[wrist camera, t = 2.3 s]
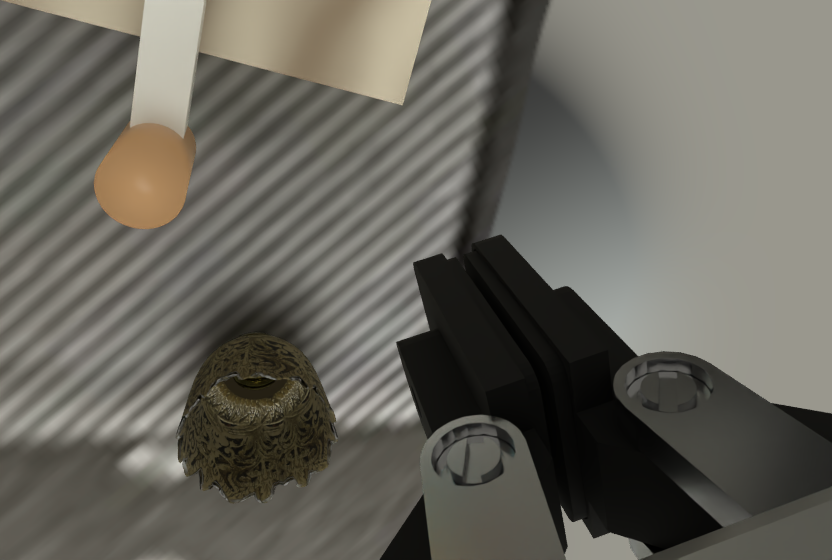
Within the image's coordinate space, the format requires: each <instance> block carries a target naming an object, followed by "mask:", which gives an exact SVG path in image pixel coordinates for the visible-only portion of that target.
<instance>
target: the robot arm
mask: <svg viewBox="0 0 832 560" xmlns="http://www.w3.org/2000/svg"><path fill="white" fill-rule="evenodd" d="M463 258H464V265H465V269H466V271H465V269H464V268H463V267H462V265H461V264H460V262H459V261H458V259H457V258H456V257H455V258H451V259H448V260H447V259H446V258H445V256H444V255H443V254H438V255H435V256H432V257H429V258H426V259H423V260H420V261H416V262H413V266H414V271H415V275H416V279H417V283H418V286H419V290H420V294H421V298H422V301H423V305H424V309H425V313H426V317H427V320H428V324H429V328H430V331H428V332H425V333H422V334H419V335H416V336H413V337H410V338H407V339H404V340H401V341H398V342H396V343H397V347H398V351H399V355H400V358H401V361H402V365H403V368H404V371H405V375H406V378H407V381H408V384H409V388H410V391H411V394H412V397H413V400H414V403H415V406H416V409H417V412H418V415H419V417H420V420H421V423H422V426H423V428H424V431H425V434H426V436H427V439H428V440H427V441H426V443H425V445H424V447H423V449H422V451H421V458H420V470H421V478H422V486H423V495H422V497H421V498H420V500H419V501H418V503H417V504H416V506H415V507H414V509H413V510H412V512H411V513H410V515H409V516H408V518H407V519H406V521H405V522H404V524H403V525H402V527H401V528H400V530H399V531H398V533H397V534H396V536H395V537H394V539H393V540H392V542H391V543H390V545H389V546H388V548H387V549H386V551H385V552H384V554H383V555H382V557H381V558H380V560H566V558H565V555H564V554H565V552H566V549H567V547H568V546H567V540H566V534H565V528H564V523H563V517H562V511H561V506H562V508H563V509H564V511H565V513H566V514H567V516H568V518H569V519H570V520H571V521H572V522H575V521H577V520H580V519H582V520H583V522H584V523H585V525H586V527H587V528H588V530H589V532H590V533H591V535H592V537H593V538H597V537H599V536H602V535H605V534H607V533H610V532H611V533H614V534H617V535H621V536H624V537H627V538H628V539H629V544H630V548H631V549H632V551H633V553H634V554H635V556H636V557H637V559H638V560H832V414H831V413H825V412H819V411H814V410H808V409H802V408H797V407H791V406H785V405H779V404H774V403H770V402H768V401H767V400H765V399H764V398H762V397H761V396H759V395H758V394H756V393H755V392H753V391H751V390H750V389H749V388H747V387H746V386H744V385H742V384H741V383H739V382H738V381H736V380H735V379H733V378H732V377H730V376H729V375H727V374H726V373H724V372H723V371H721V370H720V369H718V368H717V367H715V366H714V365H712V364H711V363H708V362H707V361H705V360H703V359H701V358H698V357H696V356H693V355H688V354H684V353H681V352H665V351H663V352H655V353H647V354H644V355H641V356H637V355H636V354H635V353H634V352H633V351H632V350H631V349H630V347H628V345H626V343H625V342H624V341H623V340H622V339H620V337H619V336H618V335H617V334H616V333H615V332H614V331H613V330H612V329H611V328H610V327H609V326H608V325H607V324H606V323H605V322H604V321H603V320H602V319H601V318H600V317H599V316H598V315H597V314H596V313H595V312H594V311H593V310H592V309H591V308H590V307H589V306H588V305H587V304H586V303H585V302H584V301H583V300H582V299H581V298H580V297H579V296H578V295H577V293H575V292H574V290H572V289H571V288H570V287H568V286H565V287H561V288H558V289H555V290H552V288H551V287H550V286H549V285H548V284H547V283H546V282H545V281H544V280H543V279H542V278H541V276H540V275H539V274H538V273H537V272H536V271H535V270H534V269H533V268H532V267H531V266H530V264H529V263H528V262H527V261H526V260H525V259H524V258H523V257H522V256H521V255H520V254H519V253H518V252H517V251H516V249H515V248H514V247H513V246H512V245H511V244H510V243H509V242H508V241H507V240H506V238H504V236H502V235H498V236H495V237H492V238H489V239H485V240H482V241H479V242H476V243H473V244H472V252H470V253H467V254H464V256H463ZM560 504H561V505H560Z"/></svg>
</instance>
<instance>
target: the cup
mask: <svg viewBox="0 0 832 560" xmlns="http://www.w3.org/2000/svg"><path fill="white" fill-rule="evenodd" d="M334 422H335V423H336V418H335V414H334V412H333V410H332V408H331V407H330V404H329V402H328V399H327V397H326V394H325V392H324V389H323V387H322V384H321V382H320V380H319V378H318V376H317V373H316V371H315V369H314V368H313V366H312V364H311V363H310V361H309V360H308V359H307V357H306V356H305V355H304V354H303V353H302V352H301V351H300V350H299V349H298V348H297V347H295V346H294V345H292V344H291V343H289V342H287V341H285V340H283V339H281V338H278V337H274V336H272V335H269V334H266V333H262V332H251V333H246V334H243V335H241V336H239V337H238V338H236V339H234V340H231V341H229V342H227V343H225V344H224V345H222V346H221V347H219V348H218V349H217V350H216V351H214V352H213V353H212V354H211V355H210V356H209V357H208V358H207V360H206V361H205V362H204V364H203V365H202V367H201V368H200V370H199V372H198V374H197V376H196V378H195V380H194V383H193V385H192V388H191V391H190V394H189V397H188V400H187V403H186V406H185V409H184V413H183V416H182V419H181V422H180V425H179V427H178V431H177V434H176V439H177V438H179V440H178V460H179V462H180V463H181V462H182V461H183V464H182V465H183V469H184V473H185V475H186V476H187V477H190V476H192V475H195V474H197V473H198V472H199V478H200V489H201V490H203V491H206V490H208V489H211V488H212V487H213V486H211V485H212V484H213V485H214V486H215V487H216V488H217V489H218V490H219V492H220V494H221V495H222V496H223V497H224V498H225V499H226V500H227V501H228V502H230V503H238V502H242V501H244V500H246V499H248V498H250V497H252V496H254V497H255V499H256V500H257V501H258V502H261V503H267V502H268V501H270V500H271V499H272V496H273V495H274V492H275V491H274V490H275V488H276V487H275V486H277V485H279V484H280V485H285V486H286V485H287V483H288V482H290V481H291V480H293V479H295V480H296V484H298V485H296V486H298V487H305V486H307V485H308V483H309V481H310V479H311V475H312V473H319V472H321V471H322V470H324V469H325V468H327V467H328V465H329V462H330V457H331V446H332V444H334V443H336V442H337V441H338V436H337V433H336V430H335V427H334ZM332 442H333V443H332ZM274 487H275V488H274ZM273 488H274V489H273ZM272 491H273V495H272Z"/></svg>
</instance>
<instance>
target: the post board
mask: <svg viewBox="0 0 832 560" xmlns="http://www.w3.org/2000/svg"><path fill="white" fill-rule="evenodd" d="M2 1H6V2H10V3H13V4H17V5H21V6H25V7H29V8H32V9H36V10H40V11H44V12H48V13H52V14H55V15H59V16H63V17H67V18H71V19H75V20H78V21H82V22H86V23H90V24H94V25H97V26H101V27H105V28H109V29H113V30H117V31H120V32H124V33H128V34H132V35H136V36H141V28H142V19H143V11H144V3H145V0H2ZM430 3H431V0H207V1H206V8H205V14H204V21H203V28H202V34H201V41H200V47H199V52H201V53H205V54H208V55H212V56H216V57H220V58H224V59H227V60H231V61H235V62H239V63H243V64H247V65H250V66H254V67H258V68H262V69H266V70H270V71H273V72H277V73H281V74H285V75H289V76H292V77H296V78H300V79H304V80H308V81H312V82H315V83H319V84H323V85H327V86H331V87H335V88H338V89H342V90H346V91H350V92H354V93H357V94H361V95H365V96H369V97H373V98H377V99H380V100H384V101H388V102H392V103H396V104H400V105H403V102H404V98H405V95H406V91H407V87H408V84H409V80H410V76H411V73H412V69H413V65H414V62H415V58H416V54H417V51H418V47H419V43H420V40H421V36H422V32H423V29H424V25H425V22H426V18H427V14H428V11H429V7H430Z"/></svg>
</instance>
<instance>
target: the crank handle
mask: <svg viewBox="0 0 832 560" xmlns="http://www.w3.org/2000/svg"><path fill="white" fill-rule="evenodd" d="M206 1H207V0H145V3H144V11H143V19H142V28H141V36H140V45H139V53H138V62H137V70H136V79H135V87H134V95H133V104H132V112H131V120H130V122H129V123H128V124H127V126H126V127H125V129H124V130H123V131H122V133H121V134H120V136H119V137H118V139H117V140H116V142H115V143H114V145H113V146H112V148H111V149H110V151H109V152H108V154H107V155H106V157H105V158H104V159H103V161H102V162H101V164H100V165H99V167H98V169H97V171H96V174H95V179H94V189H95V194H96V197H97V199H98V202H99V203H100V205H101V207H102V208H103V209H104V211H105V212H106V213H107V214H108V215H109V216H110V217H112V218H113V219H114V220H116V221H118V222H119V223H121V224H123V225H126V226H129V227H133V228H138V229H151V228H156V227H160V226H163V225H165V224H167V223H169V222H170V221H171V220H173V219H174V218H175V217H176V216H177V215H178V214H179V212H180V211H181V209H182V208H183V205H184V203H185V198H186V194H187V189H188V185H189V180H190V176H191V171H192V167H193V162H194V158H195V153H196V142H195V138H194V135H193V133H192V131H191V129H190V128H189V127H188V120H189V113H190V106H191V100H192V93H193V87H194V80H195V74H196V67H197V60H198V54H199V47H200V41H201V34H202V28H203V21H204V14H205V8H206Z"/></svg>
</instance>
